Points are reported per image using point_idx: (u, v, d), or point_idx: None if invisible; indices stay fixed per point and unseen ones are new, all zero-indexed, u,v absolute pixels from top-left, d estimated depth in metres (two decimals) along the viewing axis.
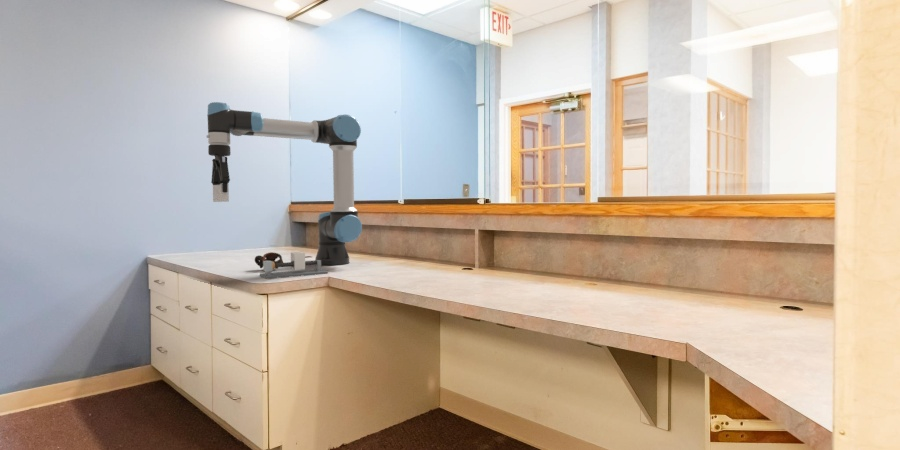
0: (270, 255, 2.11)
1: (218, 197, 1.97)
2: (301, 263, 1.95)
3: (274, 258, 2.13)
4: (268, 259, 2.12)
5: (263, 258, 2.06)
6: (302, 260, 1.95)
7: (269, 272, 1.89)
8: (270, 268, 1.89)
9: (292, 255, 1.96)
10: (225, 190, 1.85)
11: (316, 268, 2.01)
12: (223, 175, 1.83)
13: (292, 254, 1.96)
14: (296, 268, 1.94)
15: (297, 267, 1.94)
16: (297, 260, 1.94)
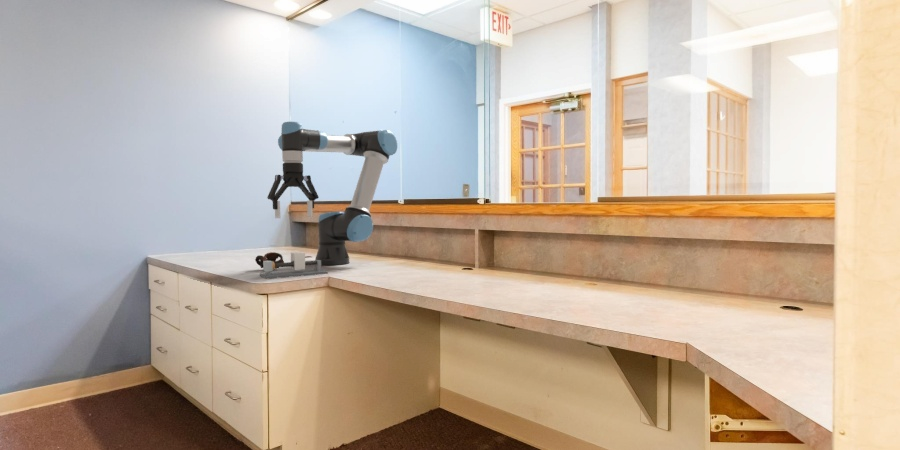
0: (271, 255, 2.11)
1: (309, 212, 2.02)
2: (301, 263, 1.95)
3: (275, 258, 2.14)
4: (269, 259, 2.13)
5: (264, 258, 2.06)
6: (302, 260, 1.95)
7: (269, 272, 1.89)
8: (270, 268, 1.89)
9: (292, 255, 1.96)
10: (273, 207, 1.92)
11: (316, 268, 2.01)
12: (269, 193, 1.92)
13: (292, 254, 1.96)
14: (296, 268, 1.94)
15: (297, 267, 1.94)
16: (297, 260, 1.94)
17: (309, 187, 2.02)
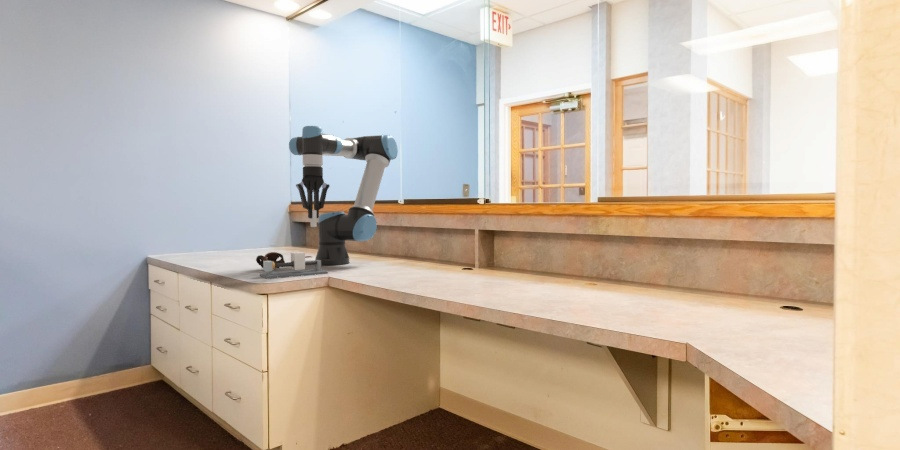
0: (271, 255, 2.12)
1: None
2: (301, 263, 1.95)
3: (275, 258, 2.14)
4: (269, 259, 2.13)
5: (265, 258, 2.07)
6: (302, 260, 1.95)
7: (269, 272, 1.89)
8: (270, 268, 1.89)
9: (292, 255, 1.96)
10: (308, 216, 1.98)
11: (316, 268, 2.01)
12: (302, 203, 1.98)
13: (292, 254, 1.96)
14: (296, 268, 1.94)
15: (297, 267, 1.94)
16: (297, 260, 1.94)
17: (322, 194, 2.01)
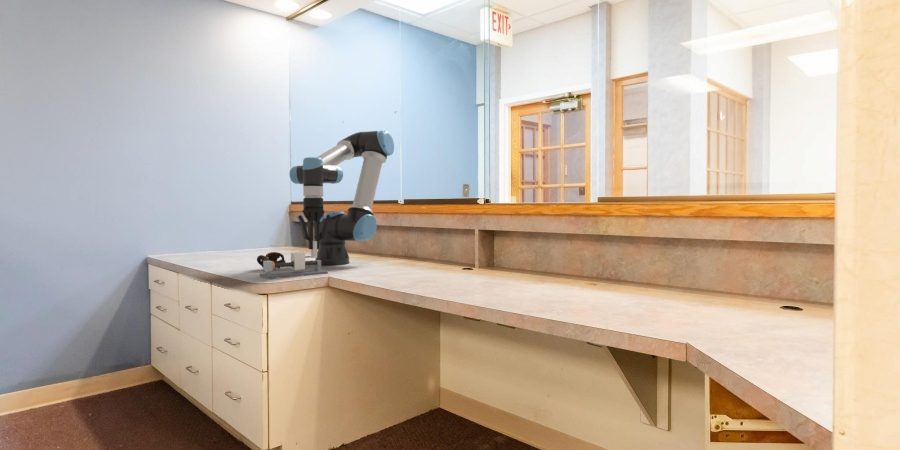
0: (272, 255, 2.12)
1: None
2: (301, 263, 1.95)
3: (276, 258, 2.14)
4: (270, 259, 2.14)
5: (265, 258, 2.07)
6: (302, 260, 1.95)
7: (269, 272, 1.89)
8: (270, 268, 1.89)
9: (292, 255, 1.96)
10: (309, 247, 1.99)
11: (316, 268, 2.01)
12: (303, 234, 1.98)
13: (292, 254, 1.96)
14: (296, 268, 1.94)
15: (297, 267, 1.94)
16: (297, 260, 1.94)
17: (322, 225, 2.02)
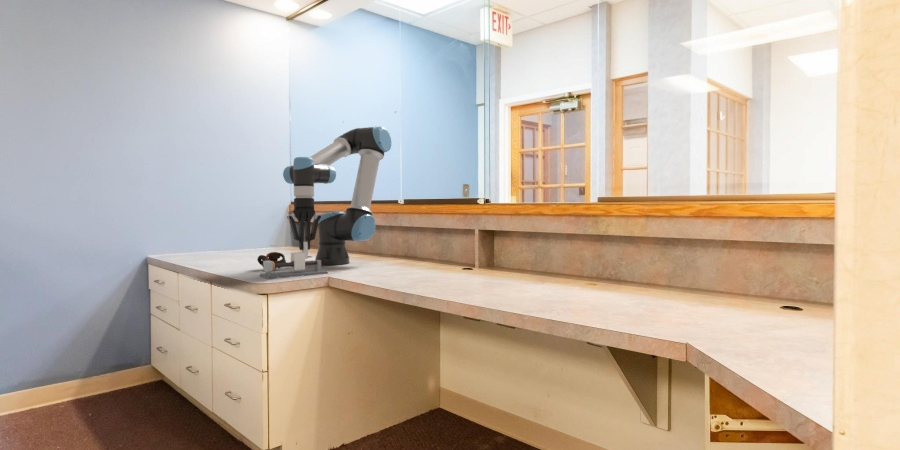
0: (273, 255, 2.13)
1: (305, 254, 1.98)
2: (301, 263, 1.95)
3: (277, 258, 2.15)
4: (271, 259, 2.14)
5: (266, 258, 2.07)
6: (302, 260, 1.95)
7: (269, 272, 1.89)
8: (270, 268, 1.89)
9: (292, 255, 1.96)
10: (299, 248, 1.97)
11: (316, 268, 2.01)
12: (293, 235, 1.96)
13: (292, 254, 1.96)
14: (296, 268, 1.94)
15: (297, 267, 1.94)
16: (297, 260, 1.94)
17: (313, 225, 2.00)
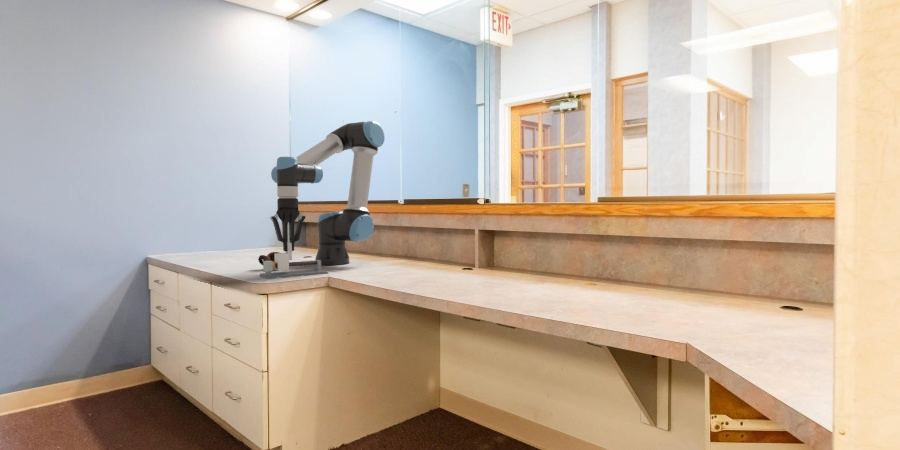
0: None
1: (289, 255, 1.94)
2: (285, 264, 1.92)
3: None
4: (271, 258, 2.15)
5: (267, 257, 2.08)
6: (286, 261, 1.92)
7: (269, 272, 1.89)
8: (270, 268, 1.89)
9: (276, 256, 1.92)
10: (283, 249, 1.93)
11: (316, 268, 2.01)
12: (277, 236, 1.92)
13: (276, 255, 1.92)
14: (280, 269, 1.91)
15: (281, 268, 1.91)
16: (281, 261, 1.91)
17: (297, 226, 1.96)
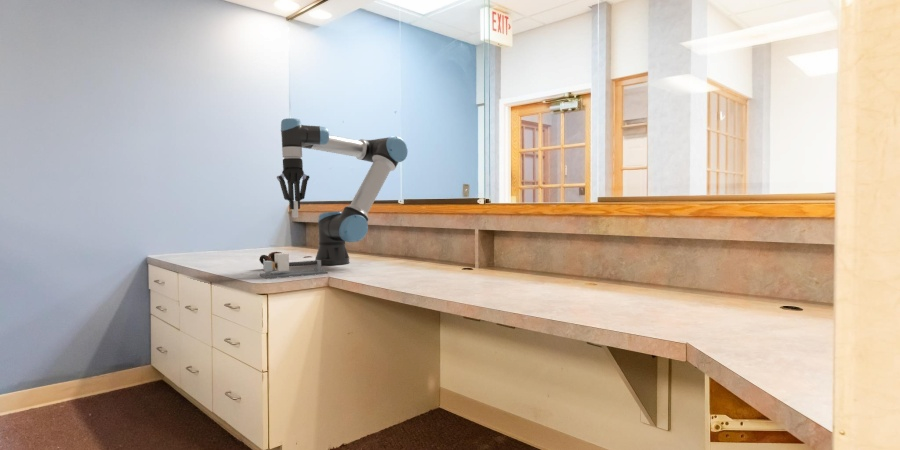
0: None
1: None
2: (285, 264, 1.92)
3: None
4: (272, 258, 2.15)
5: (268, 257, 2.09)
6: (286, 261, 1.92)
7: (269, 272, 1.89)
8: (270, 268, 1.89)
9: (276, 256, 1.92)
10: (290, 207, 2.03)
11: (316, 268, 2.01)
12: (283, 195, 2.02)
13: (276, 255, 1.92)
14: (280, 269, 1.91)
15: (281, 268, 1.91)
16: (281, 261, 1.91)
17: (302, 185, 2.06)
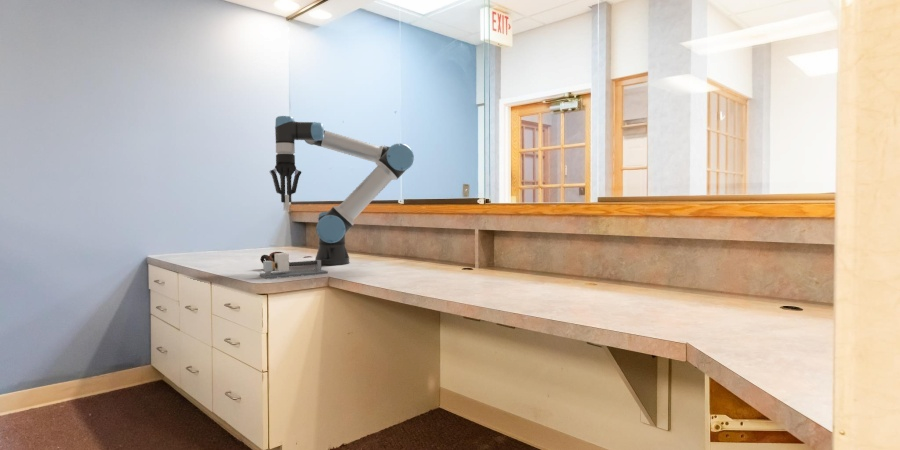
0: None
1: None
2: (285, 264, 1.92)
3: None
4: (273, 258, 2.16)
5: (269, 257, 2.09)
6: (286, 261, 1.92)
7: (269, 272, 1.89)
8: (270, 268, 1.89)
9: (276, 256, 1.92)
10: (281, 200, 2.13)
11: (316, 268, 2.01)
12: (275, 188, 2.12)
13: (276, 255, 1.92)
14: (280, 269, 1.91)
15: (281, 268, 1.91)
16: (281, 261, 1.91)
17: (294, 180, 2.16)
